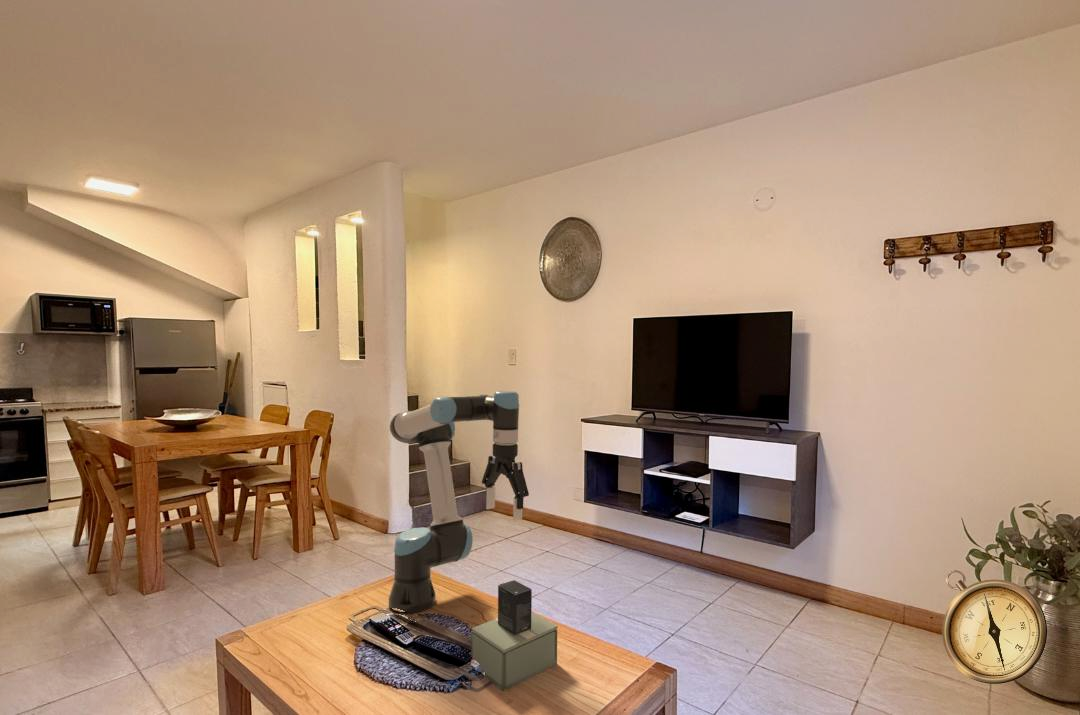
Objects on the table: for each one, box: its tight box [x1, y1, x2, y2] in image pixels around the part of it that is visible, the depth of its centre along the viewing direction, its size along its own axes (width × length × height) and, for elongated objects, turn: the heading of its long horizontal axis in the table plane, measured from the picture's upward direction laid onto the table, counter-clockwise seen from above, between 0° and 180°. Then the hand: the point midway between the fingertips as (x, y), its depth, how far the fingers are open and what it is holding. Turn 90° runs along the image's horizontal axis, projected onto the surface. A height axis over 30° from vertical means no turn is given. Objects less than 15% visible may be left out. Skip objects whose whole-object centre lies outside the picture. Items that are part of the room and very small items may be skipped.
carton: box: [470, 629, 558, 692], centre depth 139 cm, size 14×18×9 cm
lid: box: [471, 611, 558, 653], centre depth 139 cm, size 14×18×1 cm
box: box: [497, 579, 533, 635], centre depth 139 cm, size 8×6×11 cm
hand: (503, 513), depth 157 cm, fingers open, 13 cm apart
